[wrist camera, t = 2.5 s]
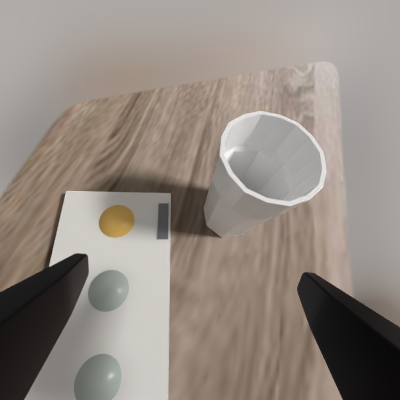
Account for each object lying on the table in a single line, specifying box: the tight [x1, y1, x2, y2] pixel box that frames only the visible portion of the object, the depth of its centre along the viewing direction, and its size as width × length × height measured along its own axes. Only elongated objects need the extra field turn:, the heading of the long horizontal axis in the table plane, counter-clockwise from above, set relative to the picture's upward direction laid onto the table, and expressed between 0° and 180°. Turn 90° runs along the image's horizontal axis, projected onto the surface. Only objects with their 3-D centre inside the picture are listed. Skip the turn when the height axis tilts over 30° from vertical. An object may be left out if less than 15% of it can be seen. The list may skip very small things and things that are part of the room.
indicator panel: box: [24, 191, 171, 400], centre depth 18 cm, size 18×10×1 cm, turn 2°
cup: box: [204, 111, 327, 238], centre depth 18 cm, size 7×7×11 cm
